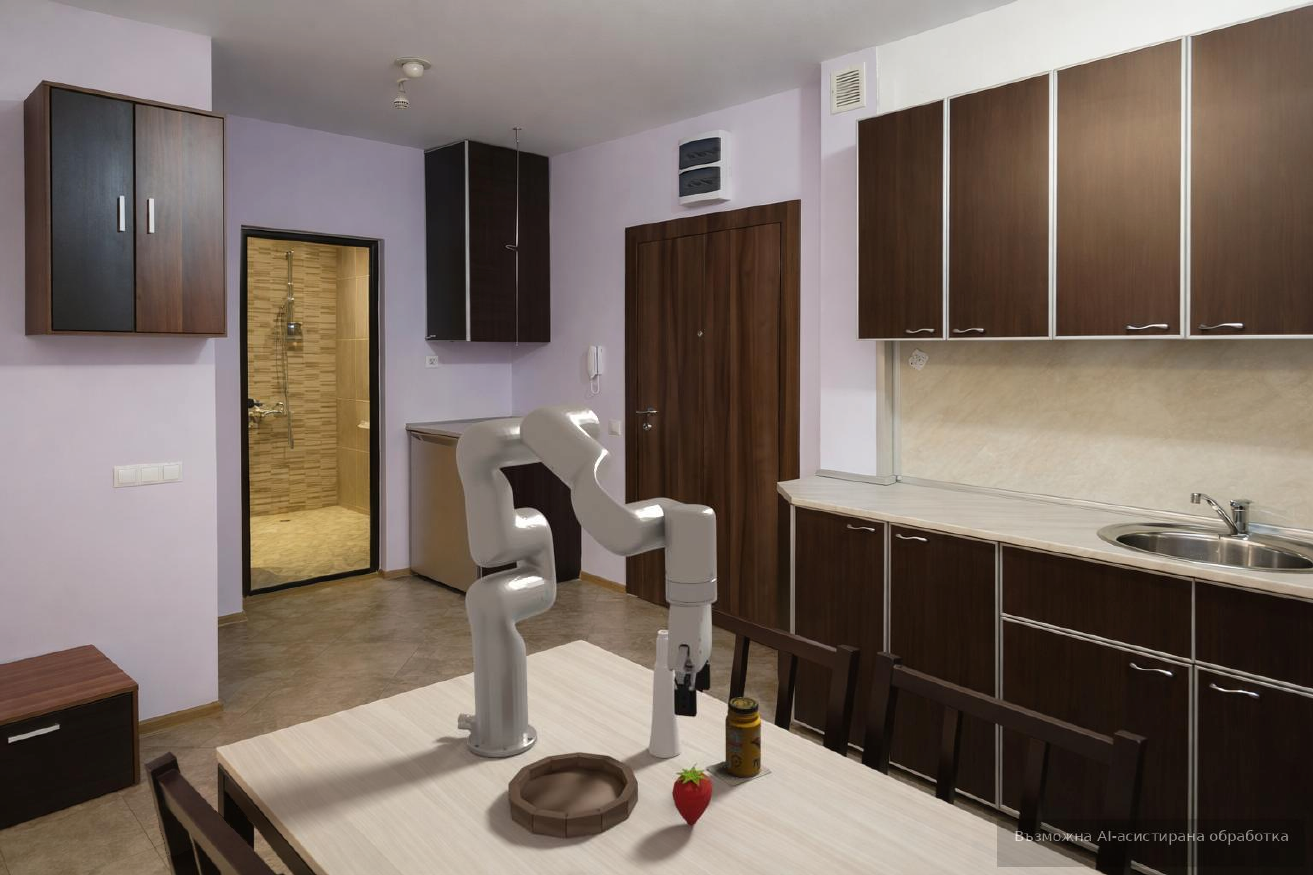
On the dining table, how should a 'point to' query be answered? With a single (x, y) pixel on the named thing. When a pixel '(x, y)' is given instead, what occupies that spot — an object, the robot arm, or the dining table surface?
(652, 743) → the cosmetic bottle
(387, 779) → the dining table surface
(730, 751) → the condiment
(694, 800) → the strawberry
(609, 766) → the tray
